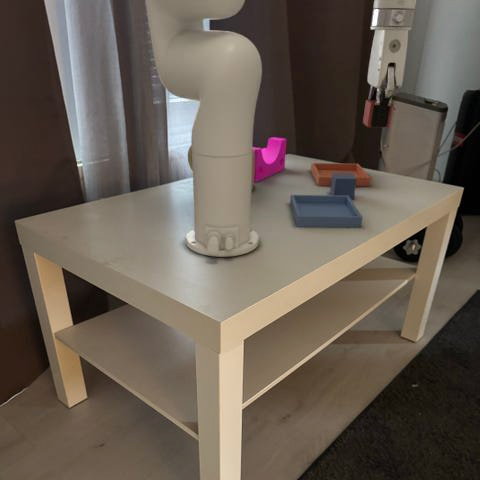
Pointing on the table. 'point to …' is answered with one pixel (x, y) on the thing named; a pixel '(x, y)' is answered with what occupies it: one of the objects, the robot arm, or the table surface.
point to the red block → (369, 112)
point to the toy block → (269, 158)
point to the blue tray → (325, 211)
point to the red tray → (325, 170)
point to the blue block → (343, 184)
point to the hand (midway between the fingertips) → (375, 123)
